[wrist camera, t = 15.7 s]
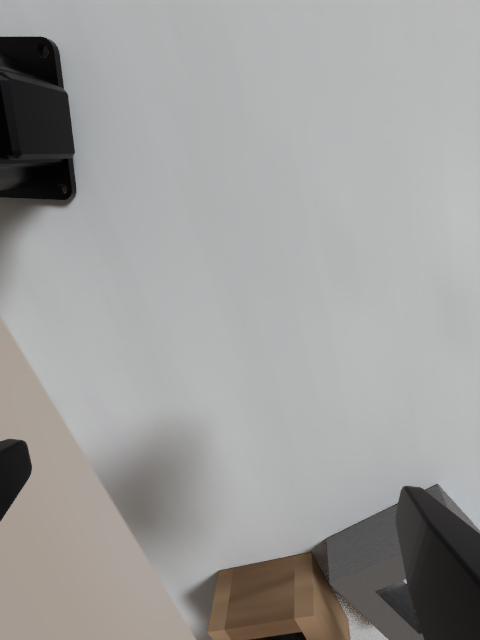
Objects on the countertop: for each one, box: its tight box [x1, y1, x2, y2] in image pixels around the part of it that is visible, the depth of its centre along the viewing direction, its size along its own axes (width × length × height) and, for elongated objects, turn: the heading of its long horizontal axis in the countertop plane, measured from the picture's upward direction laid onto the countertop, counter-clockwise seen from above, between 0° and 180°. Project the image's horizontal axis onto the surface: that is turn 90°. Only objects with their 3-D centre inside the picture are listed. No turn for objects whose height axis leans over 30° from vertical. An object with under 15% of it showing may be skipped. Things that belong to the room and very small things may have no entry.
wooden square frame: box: [207, 552, 350, 640], centre depth 27 cm, size 7×7×4 cm
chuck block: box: [326, 484, 480, 640], centre depth 24 cm, size 8×8×3 cm
